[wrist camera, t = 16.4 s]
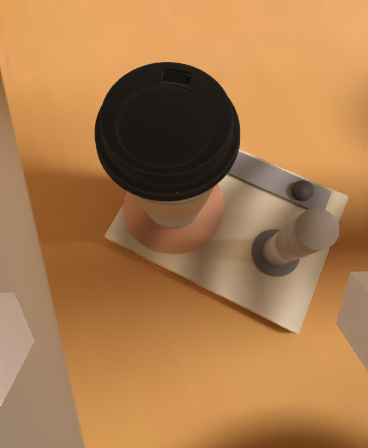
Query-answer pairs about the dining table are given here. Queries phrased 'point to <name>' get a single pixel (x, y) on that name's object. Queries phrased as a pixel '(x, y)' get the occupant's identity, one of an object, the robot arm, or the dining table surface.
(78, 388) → the dining table surface
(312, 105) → the dining table surface
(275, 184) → the control board
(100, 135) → the coffee cup
